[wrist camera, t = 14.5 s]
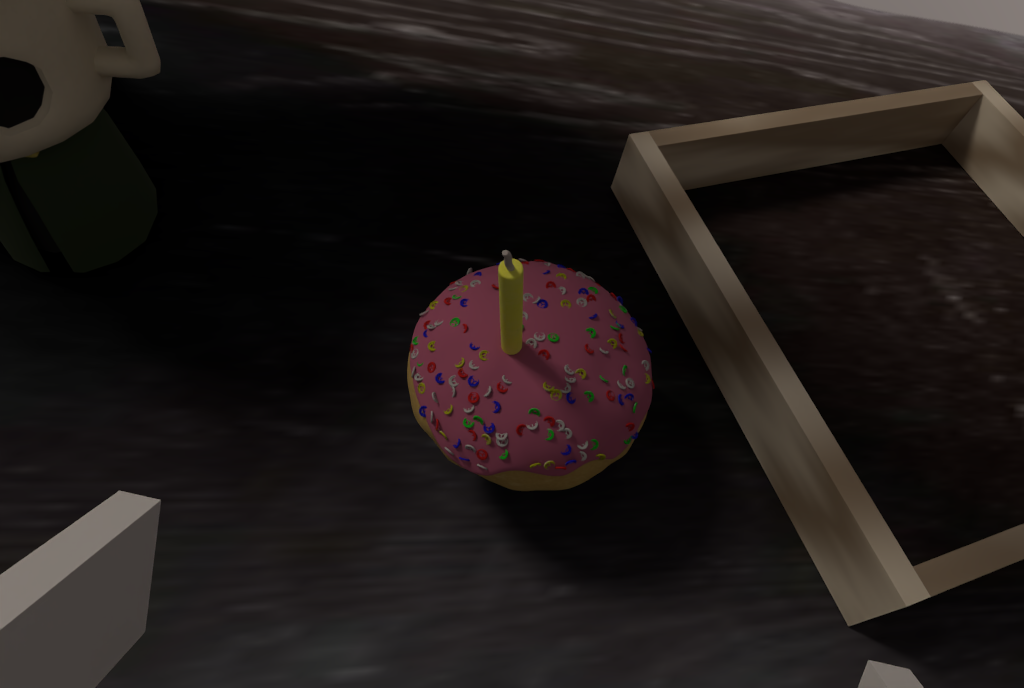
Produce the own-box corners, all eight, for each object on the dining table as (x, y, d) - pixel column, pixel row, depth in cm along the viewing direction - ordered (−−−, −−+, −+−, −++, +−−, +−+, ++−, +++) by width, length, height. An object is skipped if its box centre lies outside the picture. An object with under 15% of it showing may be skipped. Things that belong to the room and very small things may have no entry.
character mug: (-84, 289, 28) (-407, -31, 17) (-26, 160, 31) (-259, -171, 20) (206, 292, 29) (84, 2, 18) (229, 169, 33) (139, -134, 22)
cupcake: (482, 573, 25) (533, 433, 15) (366, 390, 28) (341, 169, 18) (661, 455, 28) (804, 273, 18) (539, 302, 31) (601, 75, 21)
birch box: (610, 187, 35) (629, 134, 32) (944, 129, 41) (985, 80, 38) (848, 626, 25) (906, 606, 22) (1244, 465, 31) (1331, 433, 28)
